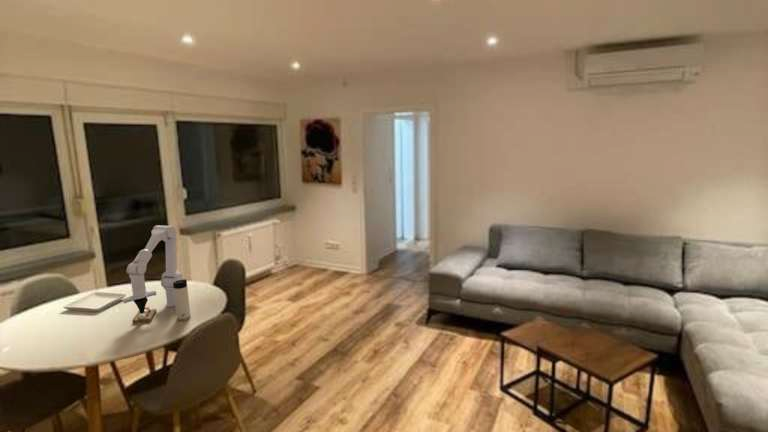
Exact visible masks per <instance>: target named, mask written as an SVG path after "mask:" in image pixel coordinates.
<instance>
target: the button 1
mask: <svg viewBox="0 0 768 432" xmlns="http://www.w3.org/2000/svg"><path fill="white" fill-rule="evenodd" d="M146 318H147V317H146V314H140V315H139V319H146Z"/></svg>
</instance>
